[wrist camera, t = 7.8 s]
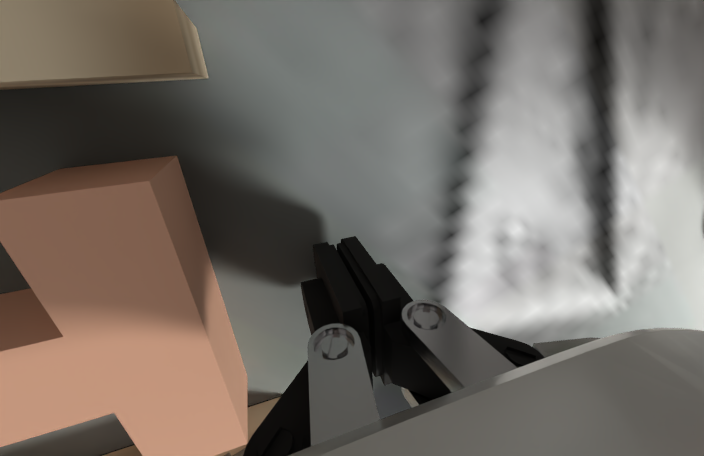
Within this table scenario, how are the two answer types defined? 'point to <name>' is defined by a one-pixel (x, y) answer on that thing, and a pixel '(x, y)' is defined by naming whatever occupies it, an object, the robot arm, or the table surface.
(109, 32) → the wooden u-shaped bracket
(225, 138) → the table surface
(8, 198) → the t block
